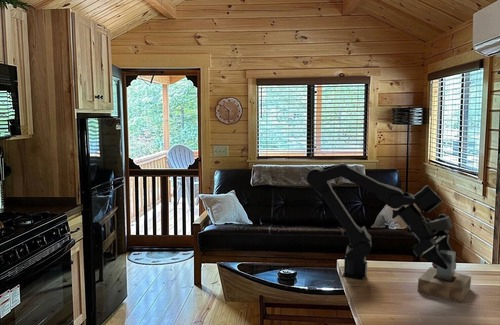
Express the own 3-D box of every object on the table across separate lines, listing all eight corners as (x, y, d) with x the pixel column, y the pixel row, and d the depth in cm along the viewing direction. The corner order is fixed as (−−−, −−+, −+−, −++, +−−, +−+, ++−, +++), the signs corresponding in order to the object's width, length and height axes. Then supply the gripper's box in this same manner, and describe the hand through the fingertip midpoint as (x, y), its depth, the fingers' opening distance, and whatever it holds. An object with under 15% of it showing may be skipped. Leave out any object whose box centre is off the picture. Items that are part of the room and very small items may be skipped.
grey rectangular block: (435, 290, 133) (437, 252, 131) (438, 286, 136) (441, 249, 134) (449, 294, 130) (452, 255, 129) (452, 289, 134) (455, 251, 132)
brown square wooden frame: (417, 291, 132) (418, 278, 132) (429, 279, 142) (430, 267, 141) (460, 302, 125) (461, 289, 124) (470, 289, 134) (471, 276, 134)
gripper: (426, 212, 125) (466, 258, 120) (444, 201, 140) (480, 242, 134) (397, 234, 131) (433, 278, 126) (417, 221, 145) (450, 261, 140)
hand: (450, 264), depth 131 cm, fingers open, 9 cm apart
